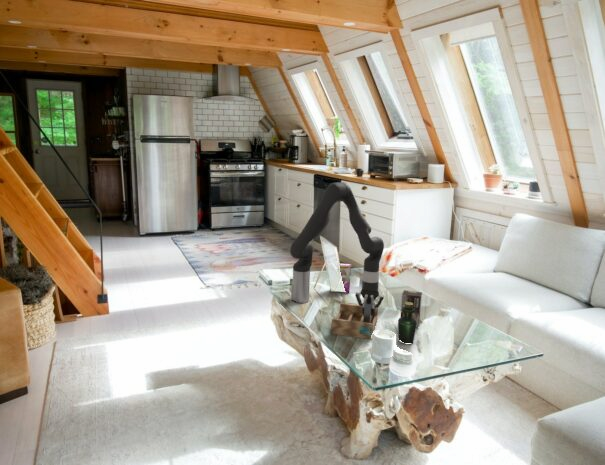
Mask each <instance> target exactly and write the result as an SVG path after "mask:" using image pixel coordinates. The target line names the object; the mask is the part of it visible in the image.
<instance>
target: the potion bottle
mask: <svg viewBox="0 0 605 465" xmlns="http://www.w3.org/2000/svg"><path fill="white" fill-rule="evenodd" d="M402 311H403V312H404V315H405V316H403V317H401V316H400V317H399V318H398V321H397V325H398V326H397V329H398V330H397V331H398V332H397V333H398V336H397V337H398V338H399V340H401V341H402V342H404V343H412V344H413V343H414V341H415V340H414V339H415V335H416V329H417V328H416V325H417V322H416V320H415V319H414V318H412V317H411V316H412V313H414V312H415V309H414V308H413V303H411V302H405V307H403V308H402Z"/></svg>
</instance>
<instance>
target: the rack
mask: <svg viewBox="0 0 605 465" xmlns="http://www.w3.org/2000/svg"><path fill="white" fill-rule="evenodd" d="M339 305H340V306H339V312H338V313H337V316H336V318H333V317H332V318H331V319H332V320H331V334H332V335H341V336H346V337H347V336H348V337H353V338H354V337H355V338H361V339H368V340H370V339H369V338H371V335H372V333H373V331H374V330H376V327H377V324H376V323H378V315H379V307H378V308H375V313H374V315H373V316H372V319H371V323H366V322H363V319H364V314H363V313H362V309H363V307H362V306H359V304H353V303H344V302H340V303H339ZM375 326H376V327H375ZM374 332H375V331H374Z"/></svg>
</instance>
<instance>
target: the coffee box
mask: <svg viewBox="0 0 605 465" xmlns="http://www.w3.org/2000/svg"><path fill="white" fill-rule="evenodd" d="M401 293H402V294H401V308H400V318H401V317H403V316H405V315H404V312H403V311H402V308H403V307H405V302H411V303H413V308H414V309H415V312H414V313H412V316H411V317H412V318H414V319H415V320H416V322H417V325H416V329H419V328H420V324H421V312H422V298H423V292H422V291H421V292H420V291H412V290H403V292H401ZM418 327H419V328H418Z"/></svg>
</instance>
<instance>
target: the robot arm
mask: <svg viewBox="0 0 605 465" xmlns="http://www.w3.org/2000/svg"><path fill="white" fill-rule="evenodd" d="M339 202H343V204H344V205H345V206H346V208H347V210H348V215H349V216H348V218H349V223H350V225H351V227H352V229H353V230H354V231H355V234H356V235H357V238H358V241H359V244H360V247H361V249H362V251H363V252H364V253H366V254H369V255H367V257H365V259H364V261H363V270H362V271H363V272H362V280H361V281H362V284H361V290H360V292H355V298H356V302H357V303H358V304H357V305H359V306H362V307H363V309H362V313H363V314H364V304H365V301H367V300H369V301H372V312H371V316H373V315H374V313H375V308H378V309H379V307H380V306H381V303H382V302H383V300H384V299H385V298H384V297H385V295H382V294H380V292H379V283H380V262H381V259H382V256H383V253H384V249H385V242H384V240H383V239H382V238H381V237H379V236H372V237H371V236H370V234H371V232H372V228H371V226H370V224H369V223H368V221H367V219H366V218H365V216H364V215H363V213H362V211H361V209H360V207H359V204H358V202H357V200H356V197H355V196H354V192H353V191H352V189H351V187H350V185H349V184H348V183H346V182H343V181H341V182H332V183H330V184H328V186H327V187H326V188H325V190H324V193H323V195H322V197H321V199H320V201H319V203H318V205H317V206H316V208H315V209H314V211H313V212H312V214H311V216H310V218H309V219H308V220H307V222H306V224H305V225H304V227H303V229H302V230H301V232H300V233H299V235H298V236H297V237H296V238H295V239H294V241H293V242H292V244H291V245H290V249H289V253H290V255H291V257H292V258H294V259H297V261H296V262H294V264H293V265H292V283H291V288H290V293H291V294H290V301H291V300H294V301H296V302H295V303H297V302H299V303H298V304H305V303H308V302H309V301H310V284H311V282H310V280H311V267H312V264H313V256H314V255H313V254H314V249H313V243H312V241H313V240H314V239H316V238H317V237H319V236H320V235H321V234H322V233H323V232H324V231H325V229H326V228H327V226H328V224H329V222H330V212H331V210H332V208H333V206H334V205H335V204H336V203H339ZM361 297H362V298H363V302H362V298H361ZM377 298H378V301H377V303H376V299H377ZM294 301H293V302H294Z"/></svg>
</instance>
